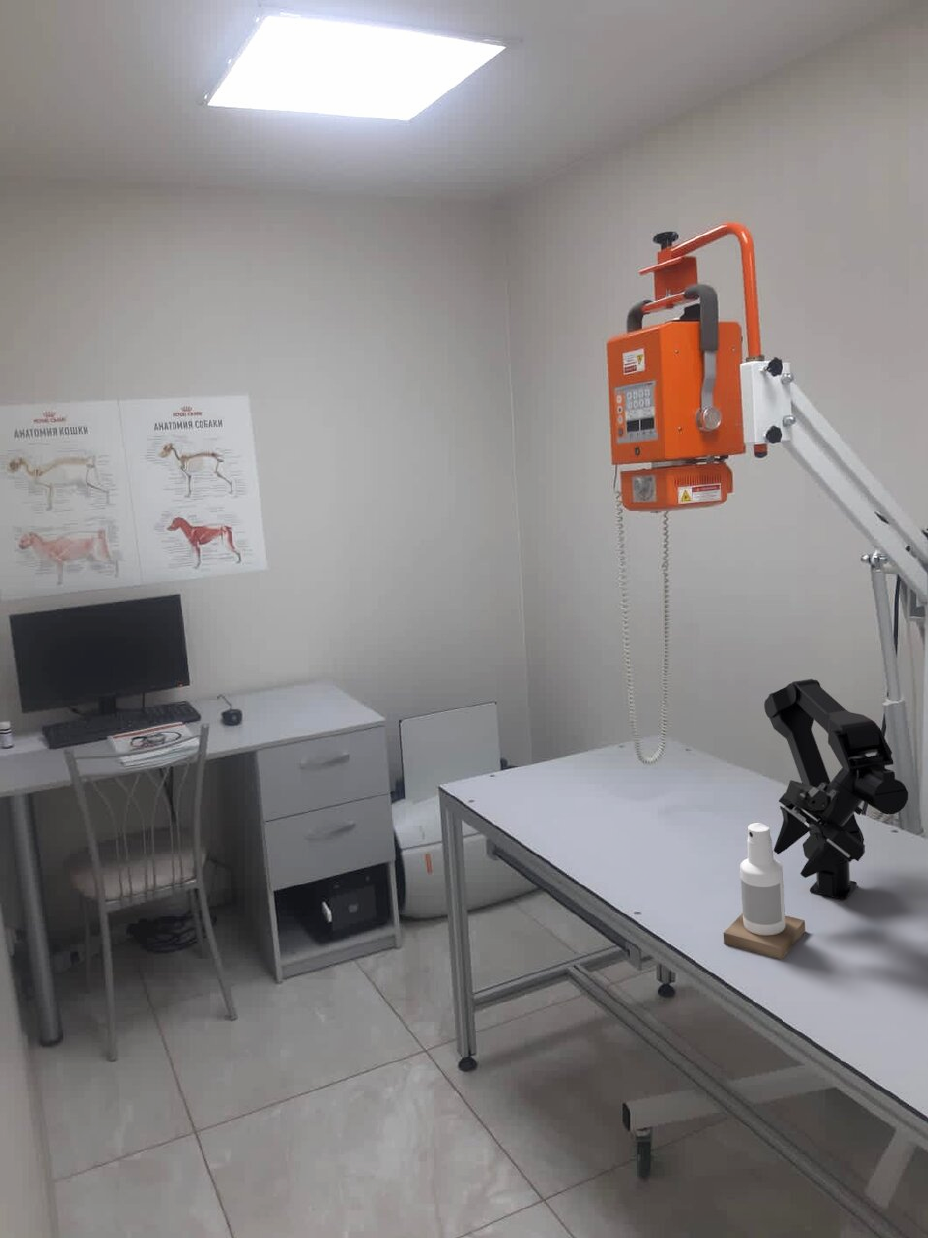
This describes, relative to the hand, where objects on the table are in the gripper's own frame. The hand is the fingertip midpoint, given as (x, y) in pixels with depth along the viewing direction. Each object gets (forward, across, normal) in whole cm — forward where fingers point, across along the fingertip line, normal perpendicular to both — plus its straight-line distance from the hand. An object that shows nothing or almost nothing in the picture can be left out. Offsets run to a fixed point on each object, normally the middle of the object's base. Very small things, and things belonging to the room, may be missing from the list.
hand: (788, 864), depth 164 cm
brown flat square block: (+12, 0, +5) cm, 13 cm away
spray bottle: (+11, 0, +4) cm, 12 cm away
